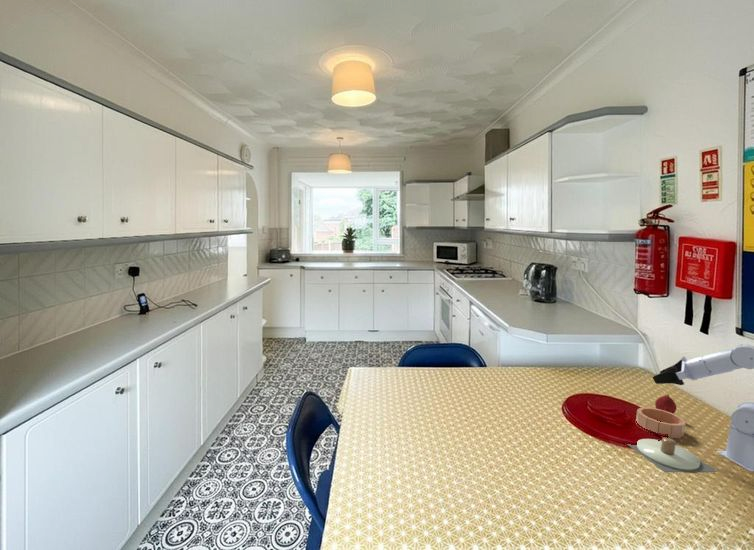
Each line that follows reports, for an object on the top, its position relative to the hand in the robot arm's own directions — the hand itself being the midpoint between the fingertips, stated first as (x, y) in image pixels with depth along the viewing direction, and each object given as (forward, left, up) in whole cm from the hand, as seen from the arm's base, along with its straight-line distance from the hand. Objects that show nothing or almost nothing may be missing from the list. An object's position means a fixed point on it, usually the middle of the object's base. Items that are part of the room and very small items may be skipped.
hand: (658, 377), depth 121 cm
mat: (-16, +9, -17) cm, 25 cm away
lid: (-16, +9, -16) cm, 24 cm away
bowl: (-1, -2, -17) cm, 17 cm away
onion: (+8, -12, -17) cm, 22 cm away
